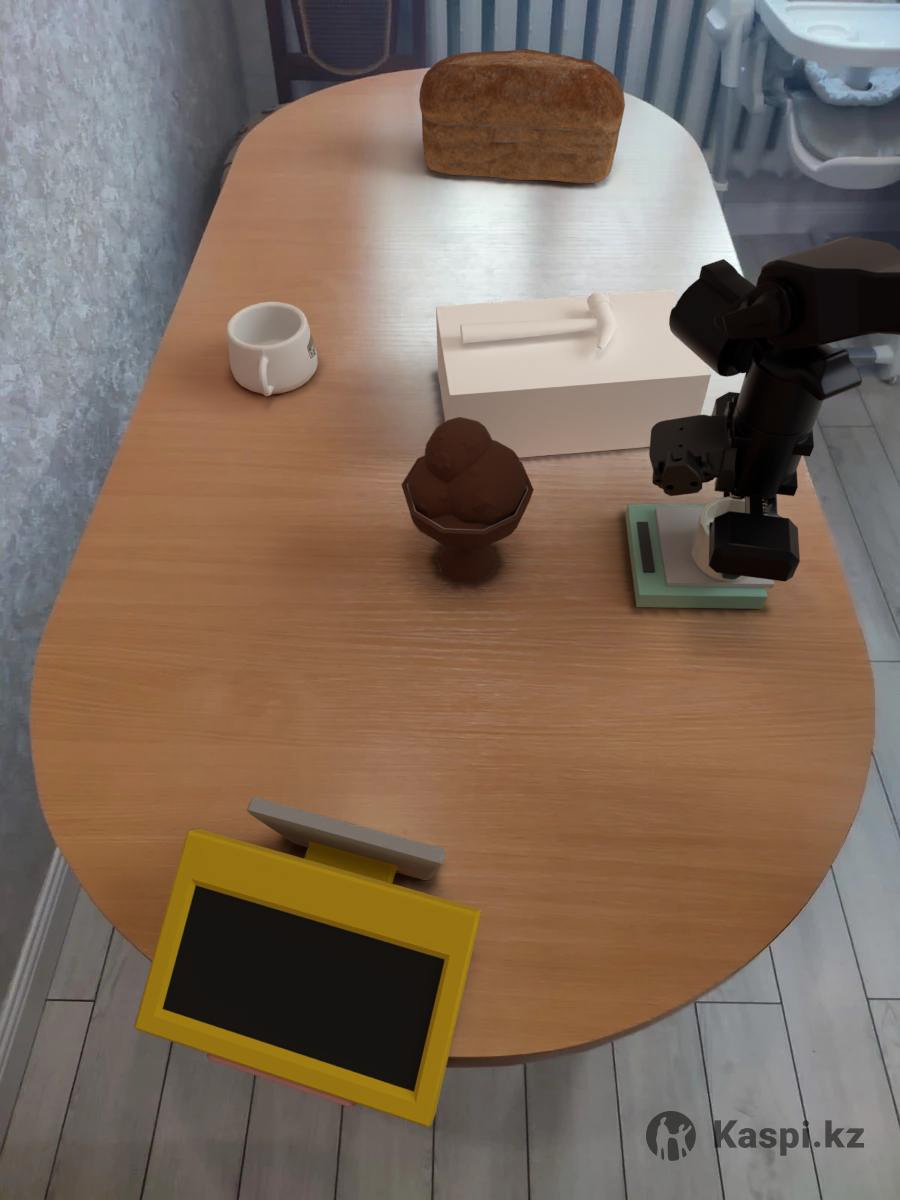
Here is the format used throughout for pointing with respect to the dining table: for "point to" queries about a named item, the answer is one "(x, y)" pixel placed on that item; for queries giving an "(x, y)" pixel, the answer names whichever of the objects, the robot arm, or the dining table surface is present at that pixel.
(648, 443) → the hammer topped box
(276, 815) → the yellow framed monitor
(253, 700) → the dining table surface
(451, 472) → the ice cream bowl
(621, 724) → the dining table surface
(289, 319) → the mug
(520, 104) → the bread
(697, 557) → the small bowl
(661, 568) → the kitchen scale
